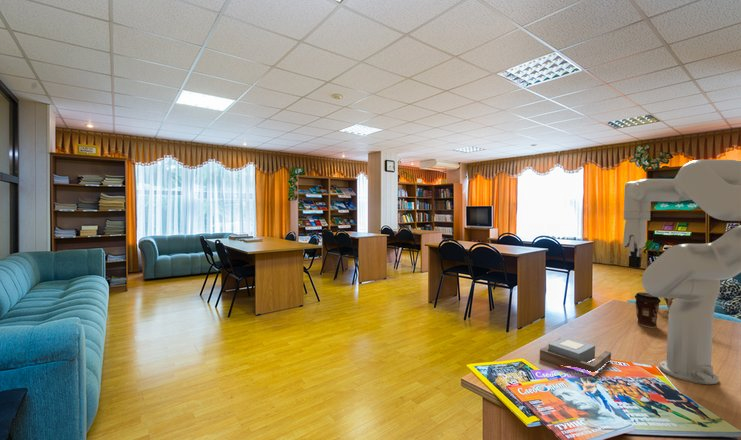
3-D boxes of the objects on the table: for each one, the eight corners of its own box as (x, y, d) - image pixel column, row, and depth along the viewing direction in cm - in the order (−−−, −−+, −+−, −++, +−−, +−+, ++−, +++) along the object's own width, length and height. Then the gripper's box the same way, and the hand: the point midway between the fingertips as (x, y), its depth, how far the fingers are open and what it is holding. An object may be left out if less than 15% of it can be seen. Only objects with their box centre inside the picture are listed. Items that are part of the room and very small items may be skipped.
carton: (564, 351, 116) (565, 336, 116) (594, 361, 109) (595, 345, 108) (548, 359, 109) (548, 343, 109) (578, 370, 102) (579, 353, 102)
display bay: (559, 346, 119) (559, 338, 119) (610, 361, 108) (610, 352, 108) (539, 359, 109) (539, 349, 109) (593, 377, 98) (594, 366, 97)
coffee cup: (628, 323, 145) (629, 292, 145) (640, 320, 149) (641, 290, 148) (652, 329, 137) (654, 297, 137) (664, 327, 141) (665, 295, 140)
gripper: (629, 215, 130) (627, 264, 131) (617, 215, 121) (615, 268, 121) (654, 216, 125) (652, 266, 125) (644, 216, 115) (642, 271, 116)
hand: (634, 267), depth 123 cm, fingers closed
